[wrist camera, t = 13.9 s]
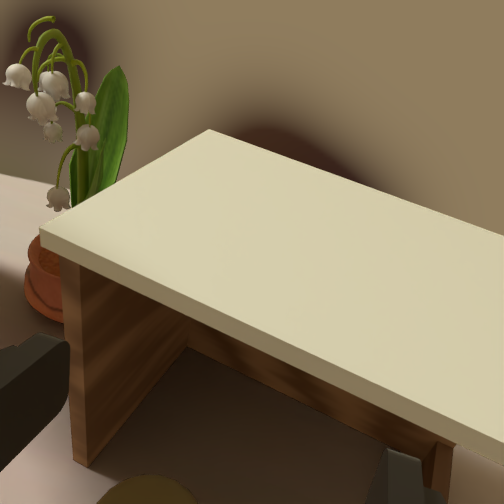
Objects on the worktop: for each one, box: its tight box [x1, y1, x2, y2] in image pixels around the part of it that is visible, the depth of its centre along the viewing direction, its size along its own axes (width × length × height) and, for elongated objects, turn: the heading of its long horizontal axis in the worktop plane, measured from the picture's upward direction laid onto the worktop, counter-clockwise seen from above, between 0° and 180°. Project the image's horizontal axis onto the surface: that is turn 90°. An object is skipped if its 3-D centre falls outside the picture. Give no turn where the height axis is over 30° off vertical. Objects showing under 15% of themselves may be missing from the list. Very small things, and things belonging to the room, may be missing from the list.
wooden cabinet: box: [39, 129, 504, 504], centre depth 29 cm, size 24×15×20 cm, turn 66°
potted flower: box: [3, 16, 129, 323], centre depth 37 cm, size 12×10×25 cm
